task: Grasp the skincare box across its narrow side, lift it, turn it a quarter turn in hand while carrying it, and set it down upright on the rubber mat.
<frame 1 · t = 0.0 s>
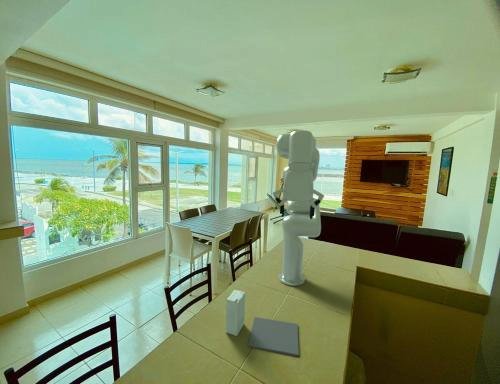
hand: (296, 217, 74), 37 cm above the breakfast bar, tool pointing down, fingers open, 9 cm apart
skincare box: (235, 329, 70), on the breakfast bar
mat: (274, 335, 68), on the breakfast bar
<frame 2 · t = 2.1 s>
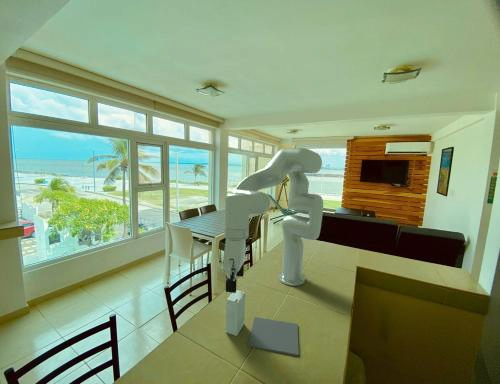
hand: (235, 283, 68), 17 cm above the breakfast bar, tool pointing down, fingers open, 9 cm apart
nothing on the breakfast bar moved.
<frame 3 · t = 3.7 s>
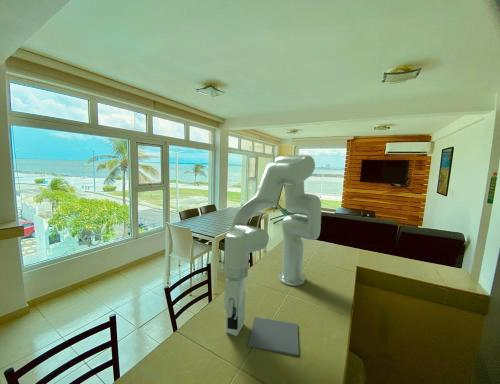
hand: (235, 319, 70), 3 cm above the breakfast bar, tool pointing down, fingers closed on skincare box, 6 cm apart
skincare box: (235, 329, 70), on the breakfast bar, touching gripper
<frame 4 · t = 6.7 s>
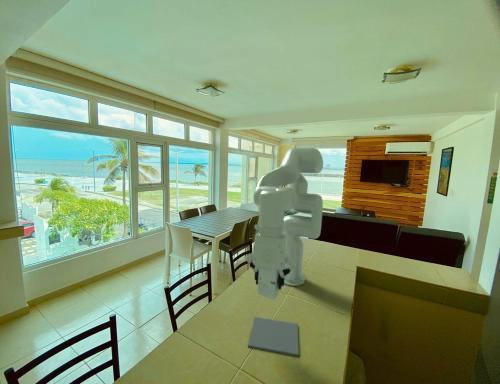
hand: (269, 284, 66), 17 cm above the breakfast bar, tool pointing down, fingers closed on skincare box, 6 cm apart
skincare box: (268, 294, 67), point 14 cm above the breakfast bar, touching gripper
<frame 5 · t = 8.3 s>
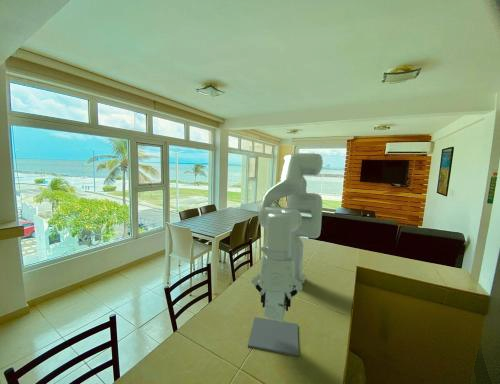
hand: (275, 305, 66), 10 cm above the breakfast bar, tool pointing down, fingers closed on skincare box, 6 cm apart
skincare box: (275, 315, 67), point 7 cm above the breakfast bar, touching gripper
when the fingers open (5 cm above the breakfast bar, at t = 9.8 s): skincare box moves 1 cm, resting on mat.
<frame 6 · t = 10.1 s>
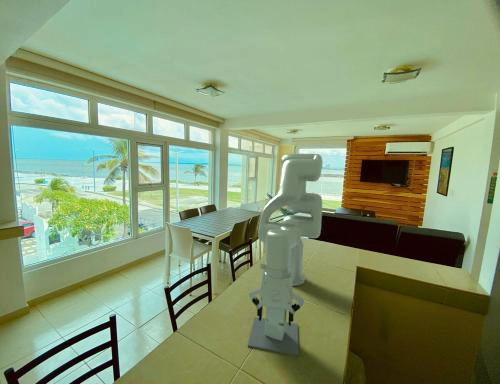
hand: (274, 319, 67), 5 cm above the breakfast bar, tool pointing down, fingers open, 9 cm apart
skincare box: (275, 333, 68), resting on mat
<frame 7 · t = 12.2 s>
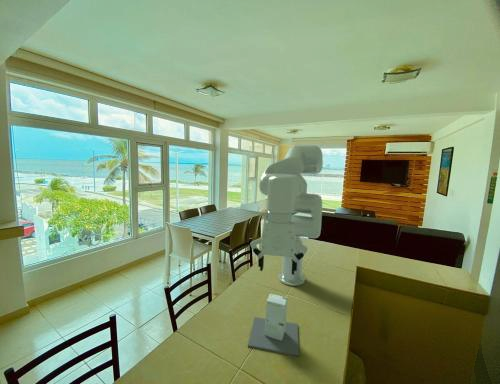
hand: (277, 270, 65), 22 cm above the breakfast bar, tool pointing down, fingers open, 9 cm apart
nothing on the breakfast bar moved.
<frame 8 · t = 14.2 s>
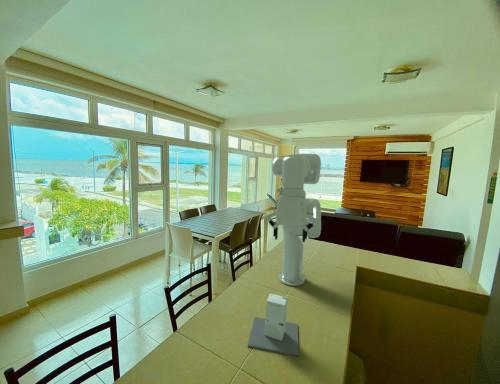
hand: (289, 239, 75), 28 cm above the breakfast bar, tool pointing down, fingers open, 9 cm apart
nothing on the breakfast bar moved.
at the end: skincare box inside the target area on the mat (0.4 cm from its centre), point 0.4 cm above the mat's base; skincare box tilted 0°; the gripper is holding nothing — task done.
